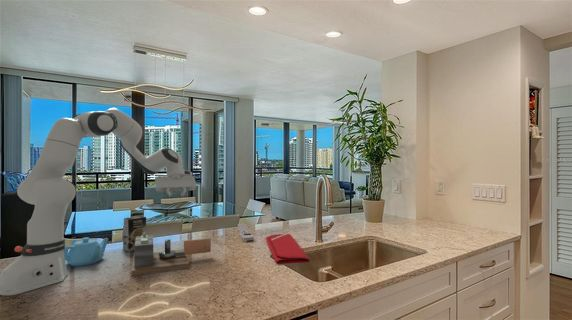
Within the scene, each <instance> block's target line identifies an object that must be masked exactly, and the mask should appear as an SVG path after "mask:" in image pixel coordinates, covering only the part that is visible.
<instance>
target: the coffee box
mask: <svg viewBox="0 0 572 320" xmlns="http://www.w3.org/2000/svg"><path fill="white" fill-rule="evenodd" d="M122 232H123V233H122V235H123V237H122V250H124V251H127V252H132V251H135V240H136V237H138V236H142V234H143V233H144V232H146V233H147V217H146V216H142V215H139V216H137V215H136V216H131V217H124V218H123V231H122Z"/></svg>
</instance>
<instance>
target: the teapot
mask: <svg viewBox="0 0 572 320" xmlns="http://www.w3.org/2000/svg"><path fill="white" fill-rule="evenodd" d="M108 241H109V238H107V237H105V238H103V239H102V241H101V242H99V241H97V239H90V237H88V236H87V237H82V238H81V240H76V239H73V240H70V242H71V243H70V244H71V245H65V250H64V258H65V262H66V264H69V265H70V266H72V267H81V266H83V267H84V266H90V265H93V264H96V263H99V262H100V261H101V260H102V259H103V258H104V255H105V254H104V253H105V250H106V247H107V245H108V244H107V243H108Z"/></svg>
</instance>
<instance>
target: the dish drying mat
mask: <svg viewBox="0 0 572 320" xmlns="http://www.w3.org/2000/svg"><path fill="white" fill-rule="evenodd" d="M265 240H266V244H267V246H268V249H269V251H270V253H271V256H272V258H273V260H274V261H275V263H276V264H277V265H282V264H285V265H286V264H297V263H298V264H300V263H303V264H304V263H309V262H310V257H308V255H307V253H306V252H305V251H304V250H303V249H302V247H301V246H300V245H299V244H298V243H297V241H296V239H295V238H294V237H293V236H292V235H291V234H290V233H281V234H280V233H279V234H271V235H269V236H266V238H265Z"/></svg>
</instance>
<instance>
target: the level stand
mask: <svg viewBox="0 0 572 320" xmlns="http://www.w3.org/2000/svg"><path fill="white" fill-rule="evenodd" d="M174 251H176V252H179V251H184V248H183V249H182V248H181V249H174ZM159 252H160V251H155V252H154V235H152V234H151V235H148V234H147V231H146V232H144V233H143V234H142V236H138V237H136V240H135V250H134V254H133V255H132V256H133V258H132V264H131V270H130V275H131V276H132V277H133V276H140V275H141V276H142V275H148V274H154V273H162V272H170V271H176V270H184V269H189V268H190V262H189V259H188V255H183V256H175V257H173V258H169V259H161V258H159Z"/></svg>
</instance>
